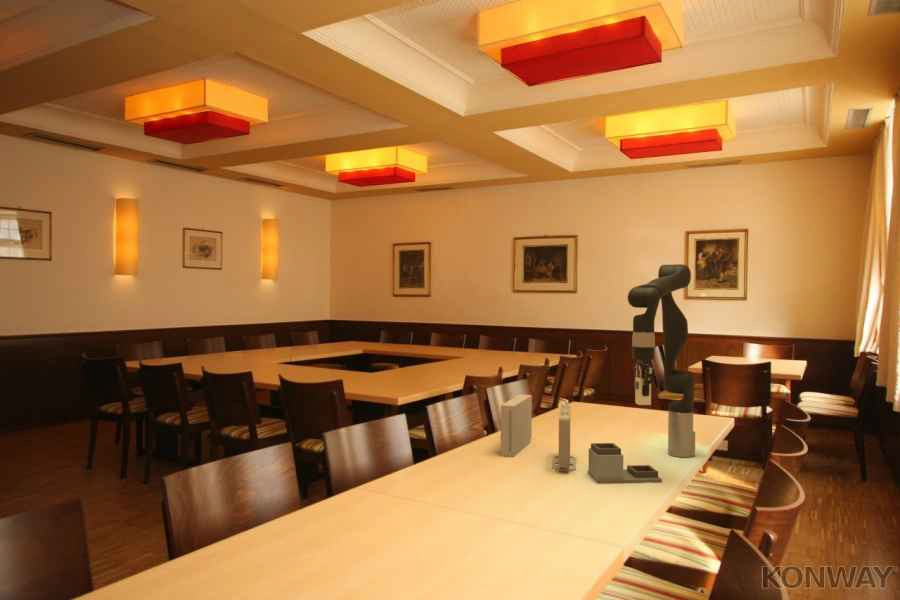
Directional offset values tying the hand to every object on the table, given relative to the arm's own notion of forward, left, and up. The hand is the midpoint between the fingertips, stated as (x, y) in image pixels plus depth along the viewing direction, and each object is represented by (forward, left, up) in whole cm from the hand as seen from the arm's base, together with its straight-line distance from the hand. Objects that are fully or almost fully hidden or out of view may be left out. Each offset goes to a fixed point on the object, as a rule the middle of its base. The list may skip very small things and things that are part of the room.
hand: (643, 394), depth 215 cm
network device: (+23, -18, -29) cm, 41 cm away
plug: (0, 0, -3) cm, 3 cm away
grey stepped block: (+7, 0, -29) cm, 29 cm away
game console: (+37, -41, -29) cm, 63 cm away
